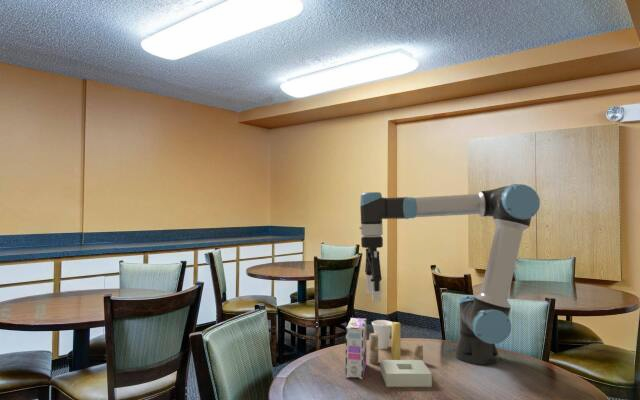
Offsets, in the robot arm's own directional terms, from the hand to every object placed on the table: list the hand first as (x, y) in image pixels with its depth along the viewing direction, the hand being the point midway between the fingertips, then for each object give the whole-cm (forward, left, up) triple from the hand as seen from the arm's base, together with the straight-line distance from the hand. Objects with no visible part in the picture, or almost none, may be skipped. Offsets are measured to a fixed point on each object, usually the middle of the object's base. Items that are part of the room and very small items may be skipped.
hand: (373, 296), depth 146 cm
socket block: (-9, +11, -24) cm, 28 cm away
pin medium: (-1, -4, -24) cm, 25 cm away
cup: (-7, -21, -25) cm, 33 cm away
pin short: (-17, -4, -24) cm, 30 cm away
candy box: (+6, +4, -25) cm, 26 cm away
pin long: (-9, -4, -24) cm, 26 cm away
